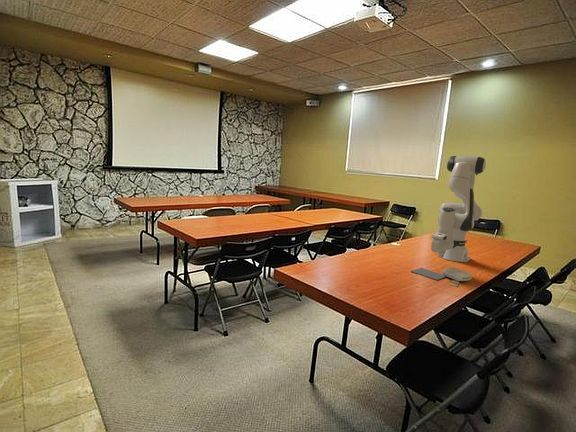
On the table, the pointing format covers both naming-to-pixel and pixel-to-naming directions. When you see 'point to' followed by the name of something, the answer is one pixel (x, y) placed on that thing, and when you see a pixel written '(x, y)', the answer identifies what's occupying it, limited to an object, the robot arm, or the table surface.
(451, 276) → the photo printer
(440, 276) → the mat
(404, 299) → the table surface
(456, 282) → the turner
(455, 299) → the table surface
